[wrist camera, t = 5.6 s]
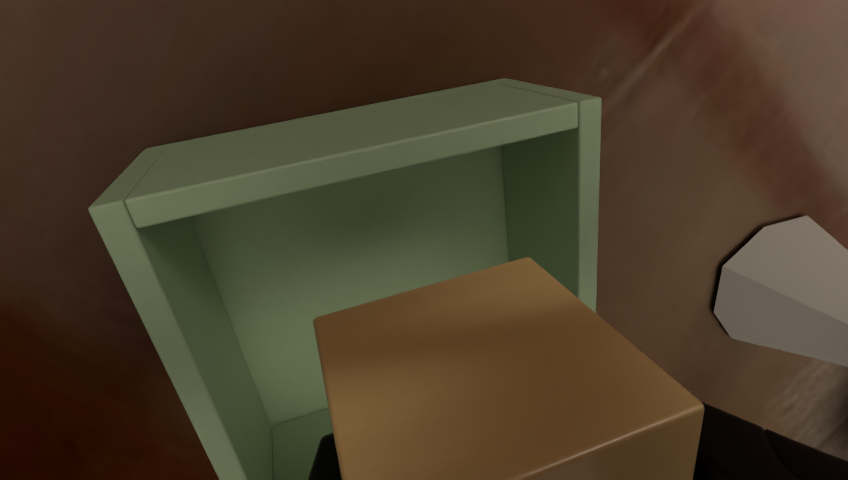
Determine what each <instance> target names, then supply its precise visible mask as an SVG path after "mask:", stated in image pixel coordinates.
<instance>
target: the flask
mask: <svg viewBox="0 0 848 480" xmlns="http://www.w3.org/2000/svg"><path fill="white" fill-rule="evenodd" d="M714 314H715V315H716V317H717V318H718V319H719V321H720V322H721V324H722V325H723V327H724V328H725V330H726V331H727V333H728V334H729V336H730V337H731V338H732V339H736V340H740V341H744V342H748V343H752V344H756V345H761V346H765V347H769V348H774V349H778V350H783V351H787V352H791V353H796V354H800V355H804V356H808V357H811V358H815V359H819V360H823V361H827V362H830V363H834V364H838V365H842V366H846V367H848V250H847V249H845V248H844V247H843V246H842V245H841V244H840V243H839V242H837V241H836V240H835V239H834V238H833V237H832V236H831V235H830V234H828V233H827V232H826V231H825V230H824V229H823V228H822V227H820V226H819V225H818V224H817V223H815V222H814V221H813V220H812V219H811V218H809V217H808V216H803V217H800V218H796V219H792V220H788V221H784V222H781V223H777V224H773V225H769V226H765V227H764V228H762V229H761V230H760V231H759V232H758V233H757V234H756V235H755V236H754V237H753V238H752V239H751V240H750V241H749V242H748V243H747V244H746V245H744V246H743V247H742V248H741V249H740V250H739V251H738V252H737V253H736V254H735V255H734V256H733V257H732V258H731V259H730V260H729V261H728V262H726V263H725V264H724V265H723V267H722V272H721V277H720V282H719V287H718V292H717V297H716V303H715V308H714Z"/></svg>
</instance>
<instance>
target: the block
mask: <svg viewBox="0 0 848 480" xmlns="http://www.w3.org/2000/svg"><path fill="white" fill-rule="evenodd" d="M313 325H314V330H315V336H316V341H317V347H318V352H319V358H320V363H321V369H322V374H323V380H324V385H325V391H326V396H327V402H328V407H329V413H330V418H331V423H332V429H333V434H334V440H335V445H336V451H337V456H338V462H339V467H340V473H341V478H342V480H693V475H694V469H695V463H696V457H697V451H698V445H699V440H700V434H701V428H702V422H703V416H704V410H705V409H704V406H703V404H702V403H701V402H700V401H699V400H698V399H697V398H696V397H694V396H693V395H692V394H691V393H690V392H688V391H687V390H686V389H685V388H684V387H683V386H681V385H680V384H679V383H678V382H677V381H675V380H674V379H673V378H672V377H671V376H670V375H668V374H667V373H666V372H665V371H664V370H662V369H661V368H660V367H659V366H658V365H657V364H655V363H654V362H653V361H652V360H651V359H649V358H648V357H647V356H646V355H645V354H644V353H642V352H641V351H640V350H639V349H638V348H636V347H635V346H634V345H633V344H632V343H631V342H629V341H628V340H627V339H626V338H625V337H623V336H622V335H621V334H620V333H619V332H618V331H616V330H615V329H614V328H613V327H612V326H610V325H609V324H608V323H607V322H606V321H605V320H603V319H602V318H601V317H600V316H599V315H597V314H596V313H595V312H594V311H593V310H592V309H590V308H589V307H588V306H587V305H586V304H584V303H583V302H582V301H581V300H580V299H579V298H577V297H576V296H575V295H574V294H573V293H571V292H570V291H569V290H568V289H567V288H566V287H564V286H563V285H562V284H561V283H560V282H558V281H557V280H556V279H555V278H554V277H553V276H551V275H550V274H549V273H548V272H547V271H545V270H544V269H543V268H542V267H541V266H539V265H538V264H537V263H536V262H535V261H534V260H532V259H531V258H530V257H525V258H522V259H518V260H515V261H511V262H508V263H504V264H501V265H497V266H494V267H490V268H487V269H483V270H480V271H476V272H473V273H469V274H466V275H462V276H459V277H455V278H452V279H448V280H445V281H441V282H438V283H434V284H431V285H428V286H424V287H421V288H417V289H414V290H410V291H407V292H403V293H400V294H396V295H393V296H389V297H386V298H382V299H379V300H375V301H372V302H368V303H365V304H361V305H358V306H354V307H351V308H347V309H344V310H340V311H337V312H333V313H330V314H326V315H323V316H319V317H316V318H315V319H314V321H313Z"/></svg>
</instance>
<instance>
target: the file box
mask: <svg viewBox="0 0 848 480" xmlns="http://www.w3.org/2000/svg"><path fill="white" fill-rule="evenodd" d="M601 101H602V100H601V98H600V97H596V96H591V95H586V94H581V93H576V92H571V91H566V90H561V89H557V88H552V87H547V86H542V85H537V84H532V83H527V82H522V81H517V80H512V79H507V78H502V79H497V80H492V81H487V82H482V83H477V84H472V85H467V86H461V87H456V88H451V89H446V90H441V91H436V92H431V93H426V94H421V95H416V96H410V97H405V98H400V99H395V100H390V101H385V102H380V103H375V104H370V105H365V106H359V107H354V108H349V109H344V110H339V111H334V112H329V113H324V114H319V115H314V116H308V117H303V118H298V119H293V120H288V121H283V122H278V123H273V124H268V125H263V126H257V127H252V128H247V129H242V130H237V131H232V132H227V133H222V134H217V135H212V136H206V137H201V138H196V139H191V140H186V141H181V142H176V143H171V144H166V145H161V146H155V147H150V148H146V149H145V150H144V151H143V152H142V153H141V154H140V155H139V156H138V157H137V158H136V159H135V160H134V161H133V162H132V163H131V164H130V165H129V166H128V167H127V168H126V169H125V170H124V171H123V172H122V173H121V174H120V176H119V177H118V178H117V179H116V180H115V181H114V182H113V183H112V184H111V185H110V186H109V187H108V188H107V189H106V190H105V191H104V192H103V193H102V194H101V195H100V196H99V197H98V199H97V200H96V201H95V202H94V203H93V204H92V205H91V206H90V207H89V208H88V211H89V213H90V215H91V217H92V219H93V221H94V223H95V225H96V227H97V229H98V231H99V233H100V235H101V237H102V239H103V241H104V243H105V245H106V248H107V250H108V252H109V254H110V256H111V258H112V260H113V262H114V264H115V266H116V268H117V270H118V272H119V274H120V276H121V278H122V280H123V282H124V285H125V287H126V289H127V291H128V293H129V295H130V297H131V299H132V301H133V303H134V305H135V307H136V309H137V311H138V313H139V315H140V317H141V319H142V322H143V324H144V326H145V328H146V330H147V332H148V334H149V336H150V338H151V340H152V342H153V344H154V346H155V348H156V350H157V352H158V354H159V357H160V359H161V361H162V363H163V365H164V367H165V369H166V371H167V373H168V375H169V377H170V379H171V381H172V383H173V385H174V387H175V389H176V391H177V394H178V396H179V398H180V400H181V402H182V404H183V406H184V408H185V410H186V412H187V414H188V416H189V418H190V420H191V422H192V424H193V426H194V428H195V431H196V433H197V435H198V437H199V439H200V441H201V443H202V445H203V447H204V449H205V451H206V453H207V455H208V457H209V459H210V461H211V463H212V465H213V468H214V470H215V472H216V474H217V476H218V478H219V480H308V478H309V474H310V471H311V468H312V465H313V462H314V458H315V455H316V452H317V449H318V446H319V442H320V440H321V438H322V437H323V436H324V435H327V434H330V433H333V429H332V423H331V418H330V413H329V407H328V402H327V396H326V391H325V385H324V380H323V374H322V369H321V363H320V358H319V352H318V347H317V341H316V336H315V330H314V325H313V321H314V319H315V318H316V317H319V316H323V315H326V314H330V313H333V312H337V311H340V310H344V309H347V308H351V307H354V306H358V305H361V304H365V303H368V302H372V301H375V300H379V299H382V298H386V297H389V296H393V295H396V294H400V293H403V292H407V291H410V290H414V289H417V288H421V287H424V286H428V285H431V284H434V283H438V282H441V281H445V280H448V279H452V278H455V277H459V276H462V275H466V274H469V273H473V272H476V271H480V270H483V269H487V268H490V267H494V266H497V265H501V264H504V263H508V262H511V261H515V260H518V259H522V258H525V257H530V258H531V259H532V260H534V261H535V262H536V263H537V264H538V265H539V266H541V267H542V268H543V269H544V270H545V271H547V272H548V273H549V274H550V275H551V276H553V277H554V278H555V279H556V280H557V281H558V282H560V283H561V284H562V285H563V286H564V287H566V288H567V289H568V290H569V291H570V292H571V293H573V294H574V295H575V296H576V297H577V298H579V299H580V300H581V301H582V302H583V303H584V304H586V305H587V306H588V307H589V308H590V309H592V310H593V311H594V312H595V313H596V288H597V251H598V213H599V176H600V138H601Z"/></svg>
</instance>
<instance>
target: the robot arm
mask: <svg viewBox="0 0 848 480" xmlns="http://www.w3.org/2000/svg"><path fill="white" fill-rule="evenodd" d="M700 402H701V401H700ZM701 403H702V404H703V406H704V409H705V410H704V416H703V422H702V428H701V434H700V440H699V445H698V451H697V457H696V463H695V469H694V475H693V480H848V461H846V460H843V459H841V458H838V457H835V456H832V455H830V454H827V453H825V452H822V451H820V450H817V449H815V448H812V447H809V446H807V445H804V444H802V443H799V442H797V441H794V440H792V439H790V438H787V437H785V436H782V435H780V434H778V433H775V432H773V431H770V430H768V429H766V430H764V429H763V428H762V427H760V426H758V425H756V424H753V423H751V422H748V421H746V420H744V419H741V418H739V417H737V416H734V415H732V414H729V413H727V412H725V411H722V410H720V409H717V408H715V407H713V406H710V405H708V404H705V403H703V402H701ZM308 480H342V478H341V473H340V467H339V462H338V456H337V451H336V445H335V440H334V434H333V433H330V434H327V435H324V436H323V437H322V438H321V440H320V442H319V446H318V449H317V452H316V455H315V458H314V462H313V465H312V468H311V471H310V474H309V478H308Z"/></svg>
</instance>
